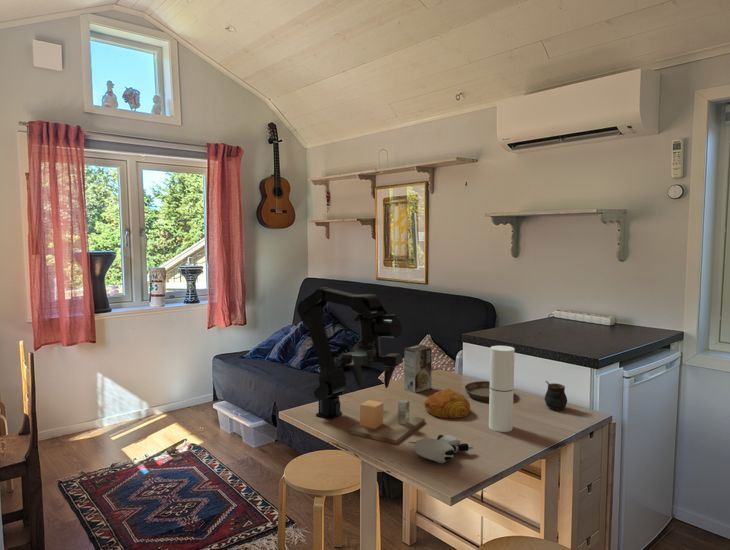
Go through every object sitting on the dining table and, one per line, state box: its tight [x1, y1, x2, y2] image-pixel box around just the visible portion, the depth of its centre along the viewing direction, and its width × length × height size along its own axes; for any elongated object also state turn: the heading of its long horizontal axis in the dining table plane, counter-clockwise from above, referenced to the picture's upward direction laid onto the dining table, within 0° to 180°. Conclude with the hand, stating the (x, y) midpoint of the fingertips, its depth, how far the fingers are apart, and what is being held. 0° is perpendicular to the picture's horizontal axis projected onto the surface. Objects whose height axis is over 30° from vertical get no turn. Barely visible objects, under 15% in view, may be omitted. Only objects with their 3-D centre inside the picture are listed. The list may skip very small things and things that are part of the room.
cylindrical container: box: [488, 345, 516, 433], centre depth 164 cm, size 7×7×25 cm
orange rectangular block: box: [359, 399, 384, 429], centre depth 164 cm, size 5×5×7 cm
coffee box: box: [403, 344, 432, 394], centre depth 204 cm, size 9×6×16 cm
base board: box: [348, 409, 426, 445], centre depth 165 cm, size 16×20×1 cm
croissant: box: [423, 388, 471, 419], centre depth 179 cm, size 14×16×8 cm
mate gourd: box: [544, 380, 568, 411], centre depth 182 cm, size 7×8×10 cm
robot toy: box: [407, 434, 474, 464], centre depth 145 cm, size 12×4×15 cm
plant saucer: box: [463, 380, 490, 402], centre depth 196 cm, size 18×18×3 cm
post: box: [397, 399, 410, 425], centre depth 165 cm, size 3×3×7 cm
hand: (373, 386), depth 163 cm, fingers open, 9 cm apart
